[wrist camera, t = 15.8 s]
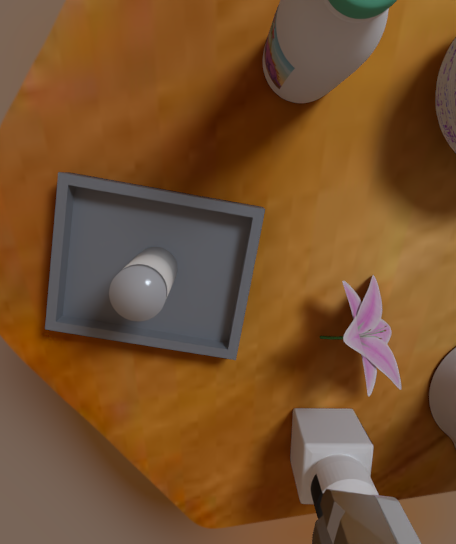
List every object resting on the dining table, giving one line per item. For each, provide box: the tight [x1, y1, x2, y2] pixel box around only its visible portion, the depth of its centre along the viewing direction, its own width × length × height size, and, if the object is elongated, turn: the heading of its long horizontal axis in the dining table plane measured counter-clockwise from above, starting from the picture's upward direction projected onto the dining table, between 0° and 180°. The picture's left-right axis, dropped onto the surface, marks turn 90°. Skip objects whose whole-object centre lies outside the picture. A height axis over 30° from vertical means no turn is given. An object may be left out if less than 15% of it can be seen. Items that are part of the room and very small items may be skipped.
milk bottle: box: [263, 0, 397, 103], centre depth 31 cm, size 8×8×20 cm
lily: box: [320, 275, 401, 396], centre depth 43 cm, size 12×12×10 cm
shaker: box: [109, 247, 178, 321], centre depth 39 cm, size 5×5×10 cm
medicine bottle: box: [290, 408, 379, 519], centre depth 44 cm, size 7×7×12 cm
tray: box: [45, 172, 265, 360], centre depth 44 cm, size 20×16×3 cm
